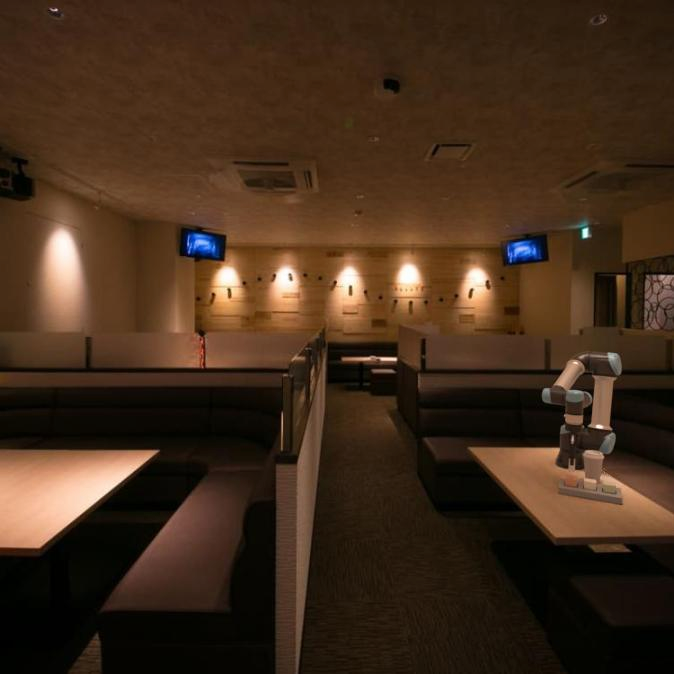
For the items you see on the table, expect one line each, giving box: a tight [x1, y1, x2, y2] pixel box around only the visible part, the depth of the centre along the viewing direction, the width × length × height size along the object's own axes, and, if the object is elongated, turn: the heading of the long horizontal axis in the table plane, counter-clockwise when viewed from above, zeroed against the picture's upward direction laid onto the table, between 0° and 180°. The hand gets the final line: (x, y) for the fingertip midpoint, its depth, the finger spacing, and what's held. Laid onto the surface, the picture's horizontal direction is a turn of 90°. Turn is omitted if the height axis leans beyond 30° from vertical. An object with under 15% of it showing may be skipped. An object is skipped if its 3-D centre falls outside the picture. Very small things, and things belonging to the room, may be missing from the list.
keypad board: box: [558, 478, 623, 506], centre depth 229 cm, size 14×26×3 cm, turn 62°
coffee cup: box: [583, 450, 605, 485], centre depth 246 cm, size 10×10×15 cm
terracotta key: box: [564, 474, 578, 487], centre depth 233 cm, size 5×5×4 cm
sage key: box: [602, 480, 617, 494], centre depth 225 cm, size 5×5×4 cm
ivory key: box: [583, 477, 596, 490], centre depth 229 cm, size 5×5×4 cm
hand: (571, 471), depth 232 cm, fingers closed
